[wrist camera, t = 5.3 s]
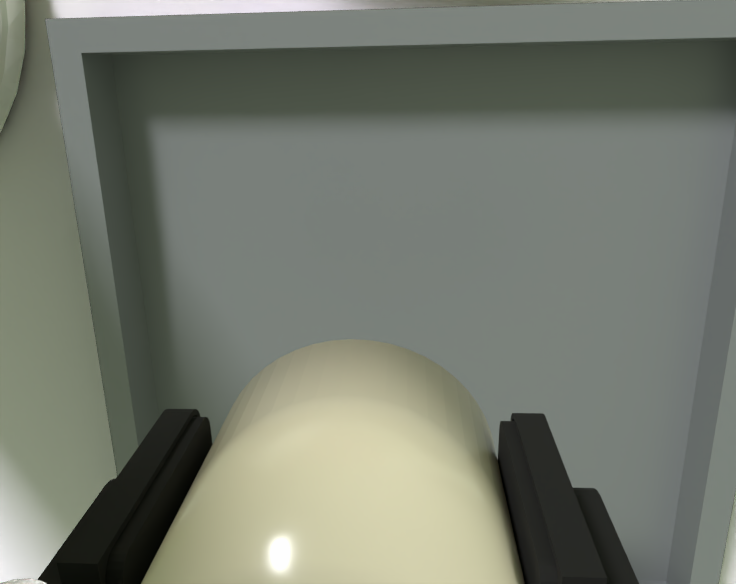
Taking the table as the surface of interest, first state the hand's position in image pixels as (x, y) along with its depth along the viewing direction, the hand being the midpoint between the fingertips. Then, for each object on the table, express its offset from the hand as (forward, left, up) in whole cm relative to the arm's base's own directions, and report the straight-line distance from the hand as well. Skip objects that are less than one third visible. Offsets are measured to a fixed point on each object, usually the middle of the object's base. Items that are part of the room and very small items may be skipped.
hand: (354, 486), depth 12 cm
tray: (0, -1, -9) cm, 9 cm away
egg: (0, 0, -1) cm, 1 cm away
